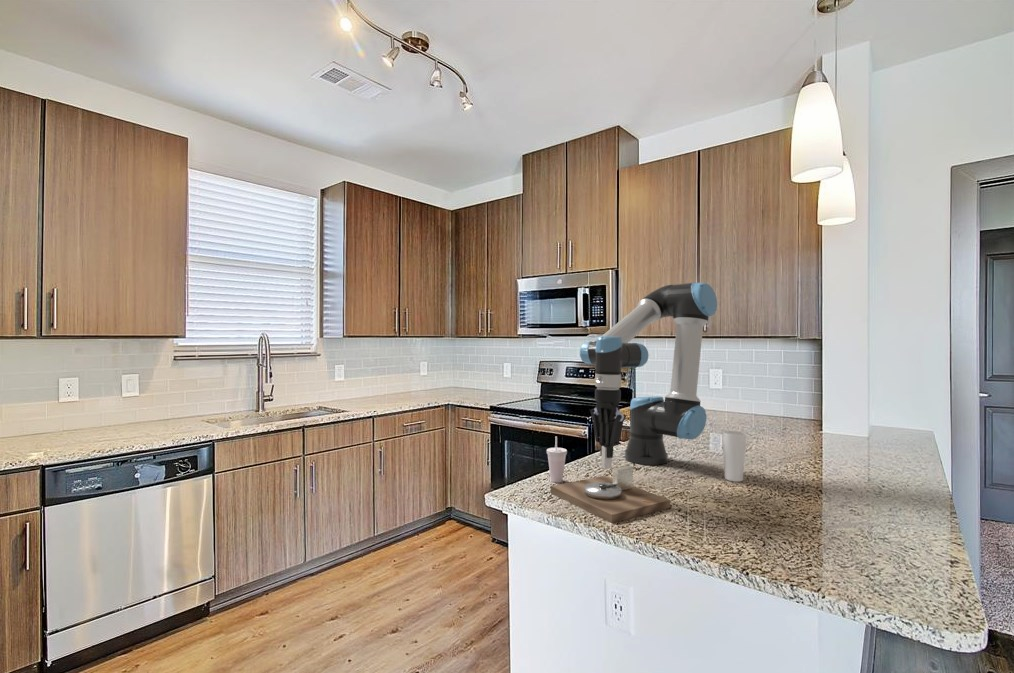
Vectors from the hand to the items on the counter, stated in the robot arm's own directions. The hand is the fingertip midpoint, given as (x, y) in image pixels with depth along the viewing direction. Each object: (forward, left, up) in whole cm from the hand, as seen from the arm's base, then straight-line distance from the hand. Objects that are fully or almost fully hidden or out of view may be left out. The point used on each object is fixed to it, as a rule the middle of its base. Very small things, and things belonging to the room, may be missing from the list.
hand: (606, 467), depth 142 cm
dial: (+5, +7, -4) cm, 10 cm away
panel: (+6, +7, -6) cm, 11 cm away
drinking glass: (-42, +13, -7) cm, 45 cm away
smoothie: (+8, -14, -7) cm, 17 cm away
